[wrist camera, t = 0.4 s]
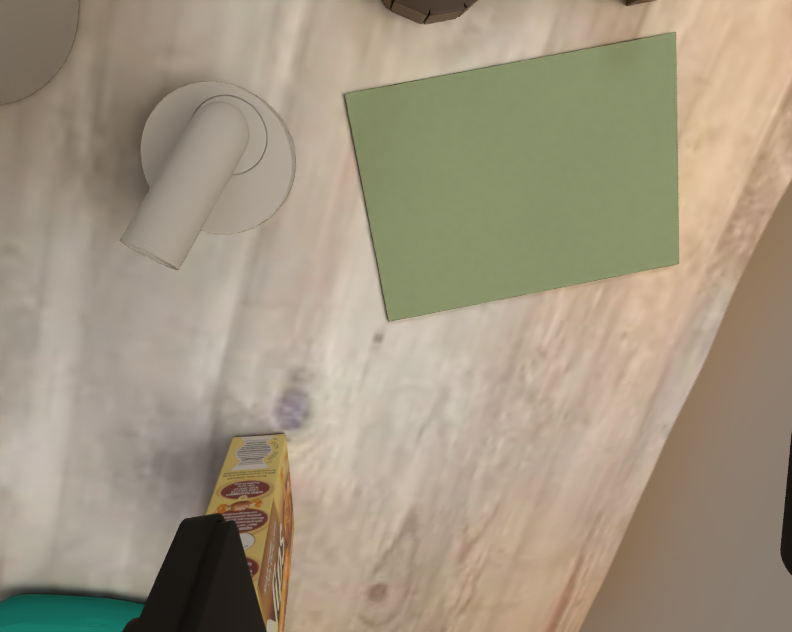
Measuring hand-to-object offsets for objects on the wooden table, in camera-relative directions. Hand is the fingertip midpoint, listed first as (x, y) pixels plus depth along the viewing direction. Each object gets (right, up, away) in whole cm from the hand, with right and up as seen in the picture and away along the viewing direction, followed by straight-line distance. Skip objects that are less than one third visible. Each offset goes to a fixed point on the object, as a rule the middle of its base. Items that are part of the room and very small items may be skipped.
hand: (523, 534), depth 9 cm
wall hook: (-13, +13, +26) cm, 32 cm away
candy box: (-12, -9, +33) cm, 36 cm away
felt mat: (+6, +12, +27) cm, 31 cm away
